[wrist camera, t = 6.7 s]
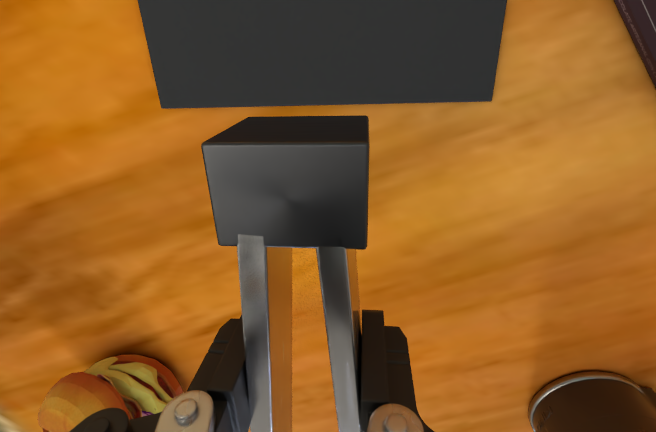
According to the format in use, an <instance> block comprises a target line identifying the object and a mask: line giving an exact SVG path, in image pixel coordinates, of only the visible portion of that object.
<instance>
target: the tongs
mask: <svg viewBox="0 0 656 432" xmlns="http://www.w3.org/2000/svg"><path fill="white" fill-rule="evenodd" d="M201 147H202V153H203V159H204V164H205V170H206V176H207V181H208V187H209V193H210V198H211V204H212V210H213V216H214V221H215V227H216V233H217V238H218V244H219V245H221V246H237V253H238V266H239V280H240V293H241V307H242V320H243V334H244V348H245V361H246V375H247V388H248V401H249V409H250V416H251V423H250V429H251V432H292V248H316V253H317V261H318V269H319V277H320V285H321V293H322V301H323V309H324V317H325V325H326V333H327V341H328V349H329V357H330V365H331V373H332V381H333V389H334V397H335V405H336V413H337V421H338V428H339V432H360V414H361V352H362V328H361V314H360V300H359V287H358V273H357V259H356V249H366V247H367V231H368V187H369V120H368V117H367V116H291V117H248V118H246V119H244V120H242V121H241V122H239V123H237V124H235V125H233V126H232V127H230V128H228V129H226V130H224V131H223V132H221V133H219V134H217V135H216V136H214V137H212V138H210V139H208V140H207V141H205V142H203V143H202V146H201Z"/></svg>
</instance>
